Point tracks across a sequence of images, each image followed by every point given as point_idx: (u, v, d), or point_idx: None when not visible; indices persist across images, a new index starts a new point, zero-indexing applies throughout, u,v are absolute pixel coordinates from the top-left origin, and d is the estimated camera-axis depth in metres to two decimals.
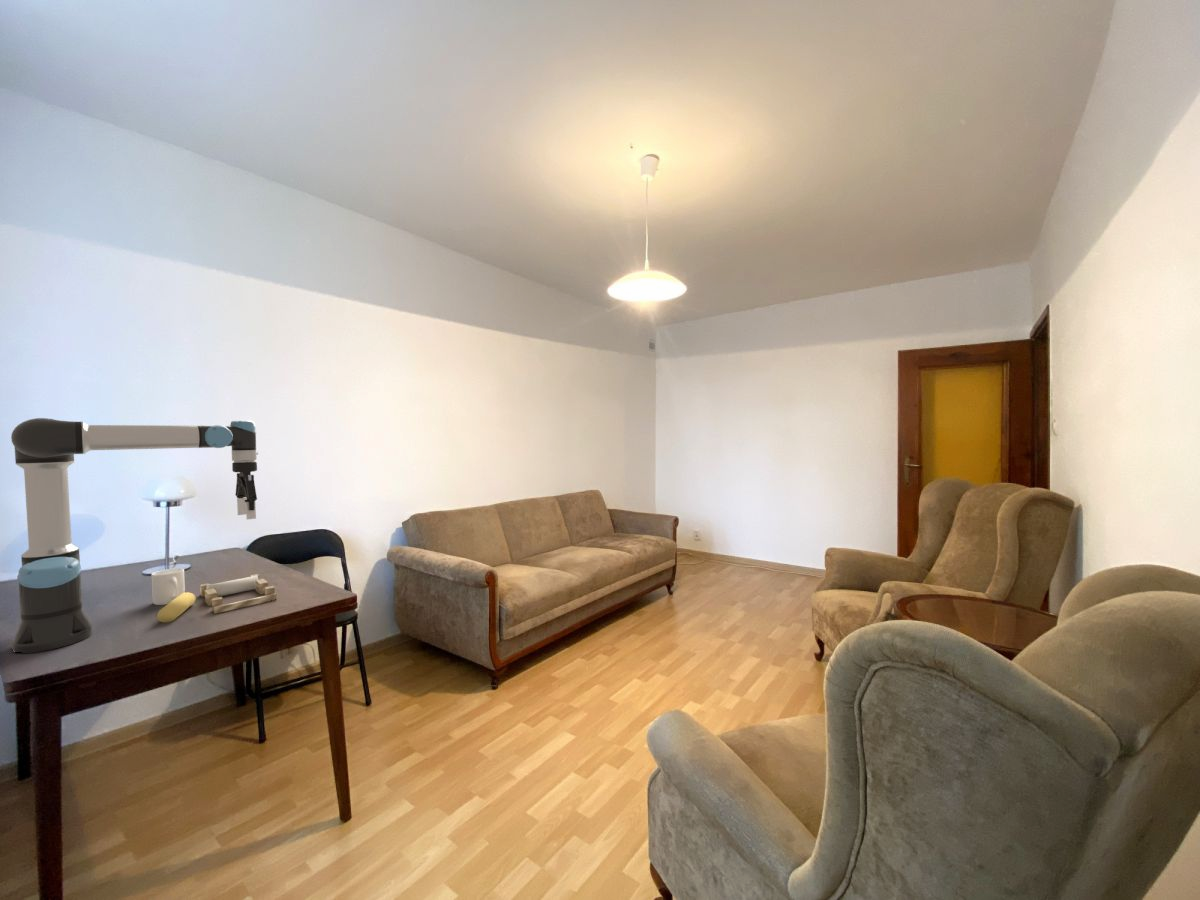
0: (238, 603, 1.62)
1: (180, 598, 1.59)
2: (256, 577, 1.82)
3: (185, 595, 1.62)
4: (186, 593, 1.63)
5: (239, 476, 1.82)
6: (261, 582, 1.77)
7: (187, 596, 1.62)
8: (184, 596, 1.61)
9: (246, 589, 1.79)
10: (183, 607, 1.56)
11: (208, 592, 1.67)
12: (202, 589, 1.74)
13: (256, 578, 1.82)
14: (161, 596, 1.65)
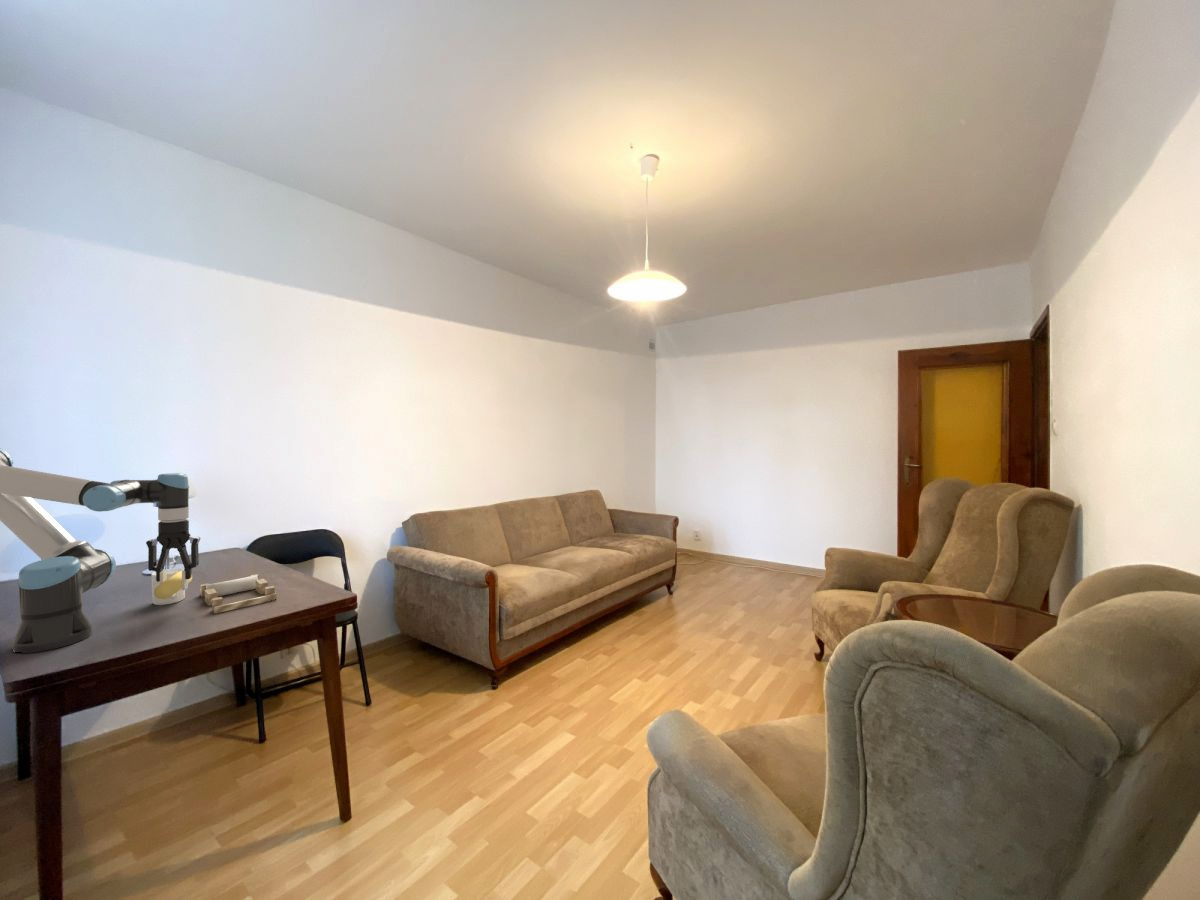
0: (238, 603, 1.62)
1: (173, 576, 1.58)
2: (255, 576, 1.82)
3: (179, 573, 1.61)
4: (179, 572, 1.62)
5: (159, 539, 1.54)
6: (261, 582, 1.77)
7: (181, 573, 1.61)
8: (178, 574, 1.60)
9: (246, 588, 1.79)
10: (179, 582, 1.56)
11: (208, 592, 1.67)
12: (202, 589, 1.74)
13: (255, 577, 1.82)
14: None
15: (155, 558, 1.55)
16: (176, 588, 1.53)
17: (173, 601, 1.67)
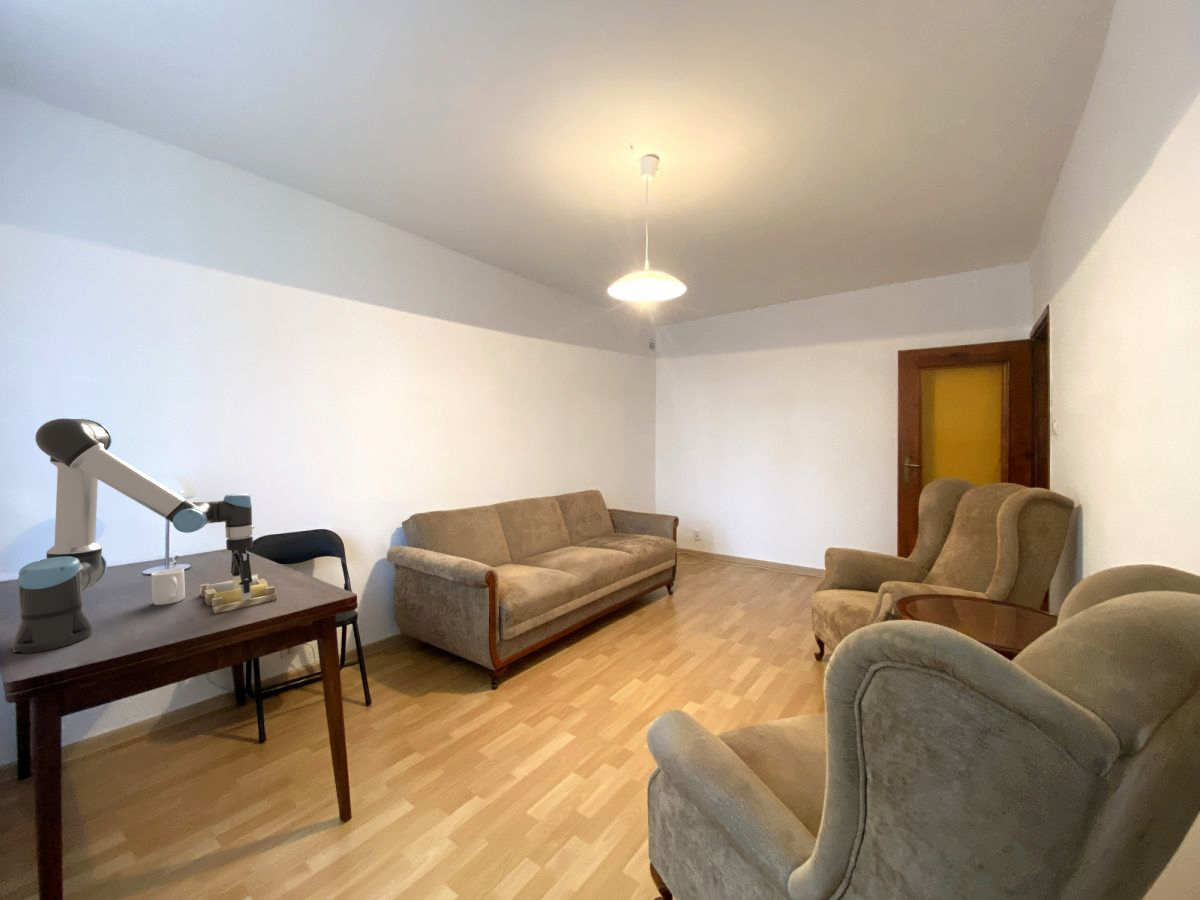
0: (238, 603, 1.62)
1: None
2: (256, 578, 1.82)
3: None
4: (260, 584, 1.73)
5: (234, 552, 1.70)
6: (261, 582, 1.77)
7: (256, 586, 1.71)
8: (252, 586, 1.71)
9: None
10: (234, 595, 1.65)
11: (208, 592, 1.67)
12: (202, 589, 1.74)
13: (256, 579, 1.81)
14: (161, 596, 1.65)
15: None
16: (223, 601, 1.63)
17: (173, 601, 1.67)
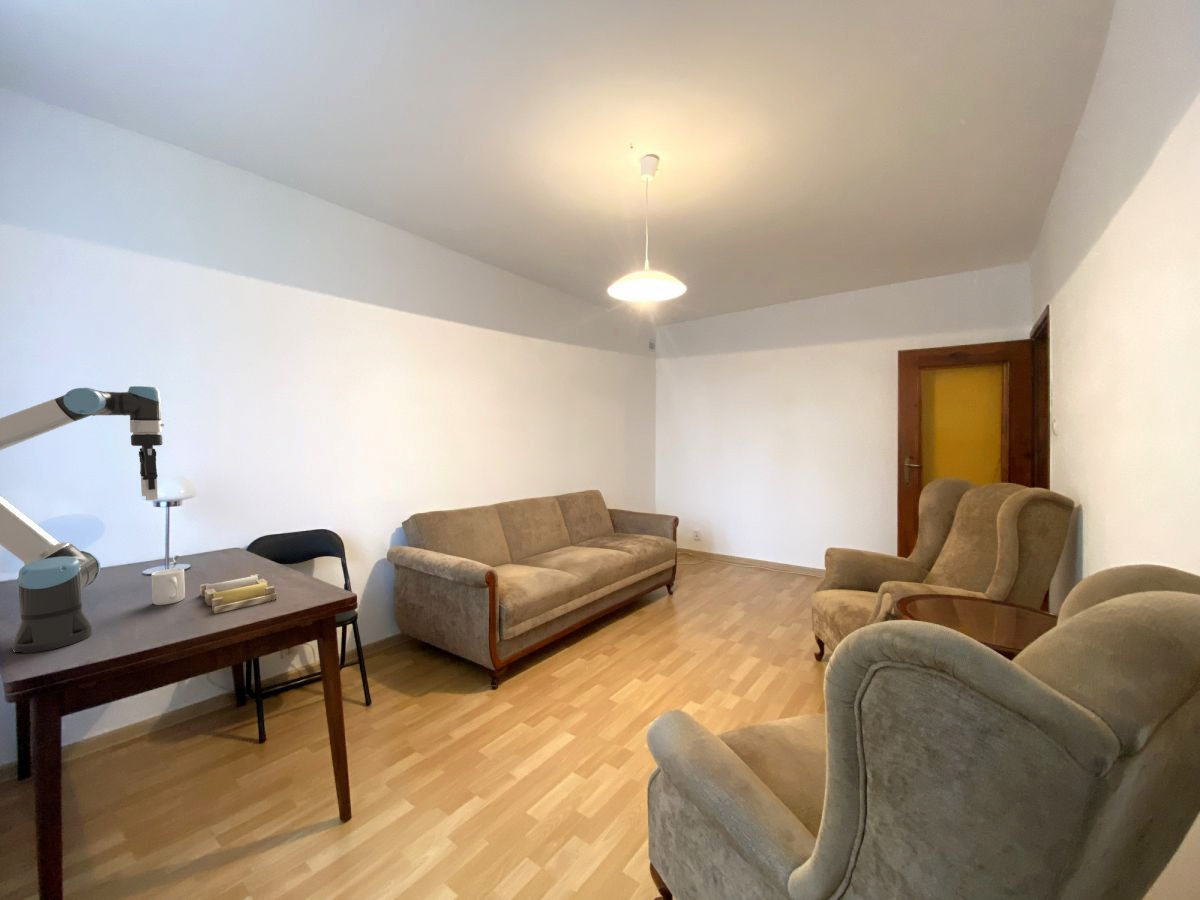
0: (238, 603, 1.62)
1: None
2: (256, 577, 1.82)
3: (256, 584, 1.73)
4: None
5: None
6: (261, 582, 1.77)
7: None
8: (251, 585, 1.72)
9: None
10: (234, 593, 1.66)
11: (208, 592, 1.67)
12: (202, 589, 1.74)
13: (256, 578, 1.82)
14: (161, 596, 1.65)
15: None
16: (223, 599, 1.63)
17: (173, 601, 1.67)
